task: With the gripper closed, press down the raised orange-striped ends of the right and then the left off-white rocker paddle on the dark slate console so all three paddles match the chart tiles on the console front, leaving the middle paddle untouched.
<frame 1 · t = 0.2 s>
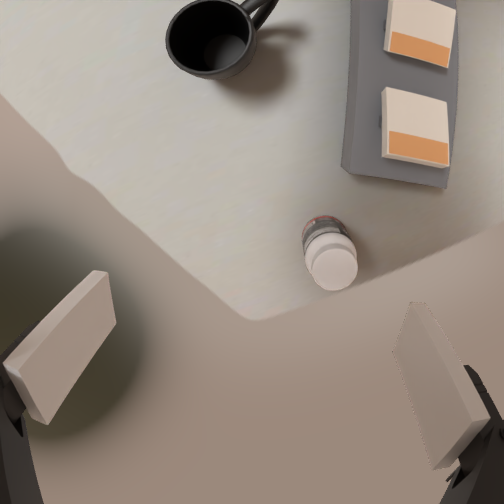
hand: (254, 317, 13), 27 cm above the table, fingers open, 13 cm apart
pill bottle: (323, 235, 40), on the table
switch 3: (414, 128, 27), point 7 cm above the table, hinge at -18.0°
switch 2: (419, 28, 23), point 7 cm above the table, hinge at 18.0°
console: (397, 41, 29), on the table
mug: (238, 44, 32), on the table
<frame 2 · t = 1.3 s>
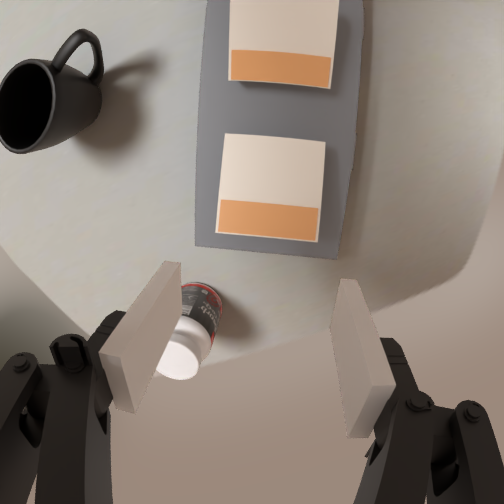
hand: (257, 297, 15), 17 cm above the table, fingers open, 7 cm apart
pill bottle: (198, 302, 36), on the table
switch 3: (271, 187, 23), point 7 cm above the table, hinge at -18.0°
switch 2: (282, 35, 18), point 7 cm above the table, hinge at 18.0°
console: (282, 55, 25), on the table
mug: (93, 90, 27), on the table
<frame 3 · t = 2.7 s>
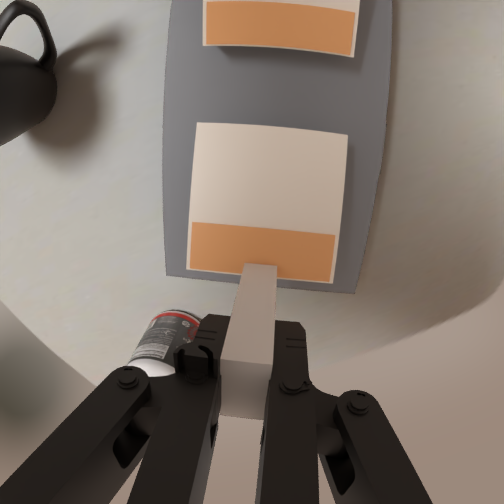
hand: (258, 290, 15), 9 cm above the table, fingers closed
pill bottle: (180, 331, 29), on the table
switch 3: (266, 201, 16), point 7 cm above the table, hinge at -14.6°, touching gripper
console: (282, 20, 17), on the table
mug: (47, 77, 20), on the table
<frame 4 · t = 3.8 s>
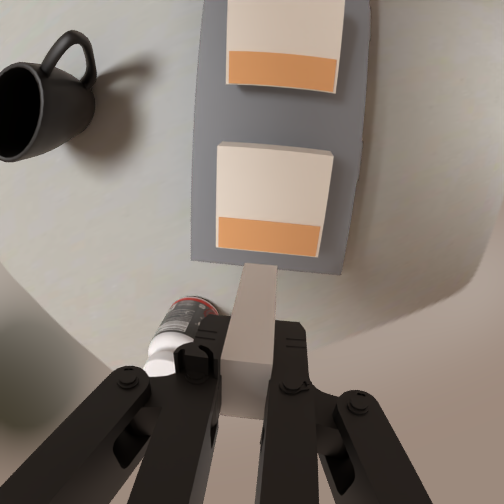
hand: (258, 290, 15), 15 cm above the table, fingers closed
pill bottle: (195, 316, 34), on the table
switch 3: (271, 197, 21), point 7 cm above the table, hinge at 7.3°
switch 2: (284, 35, 17), point 7 cm above the table, hinge at 18.0°
console: (283, 58, 23), on the table
mug: (86, 95, 26), on the table
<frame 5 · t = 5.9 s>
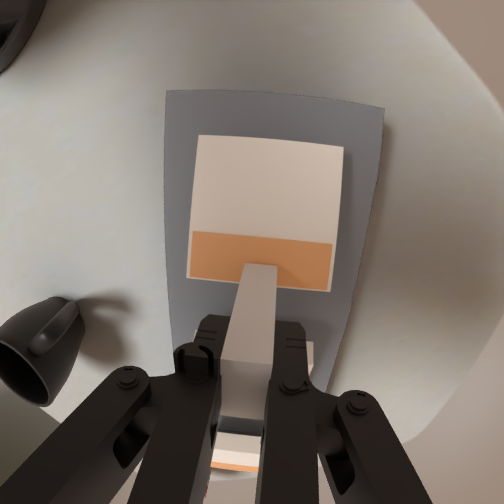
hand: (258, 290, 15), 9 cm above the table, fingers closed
switch 1: (265, 212, 16), point 7 cm above the table, hinge at -17.9°, touching gripper
switch 3: (243, 451, 25), point 7 cm above the table, hinge at 14.1°
switch 2: (251, 370, 21), point 7 cm above the table, hinge at 18.0°
console: (258, 313, 27), on the table
mug: (72, 310, 29), on the table
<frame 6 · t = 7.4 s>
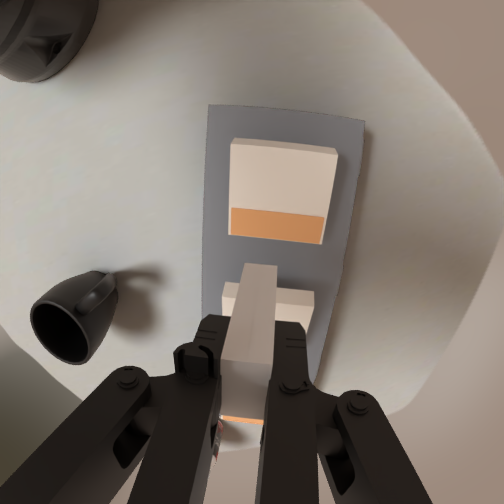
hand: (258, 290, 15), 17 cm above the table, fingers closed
pill bottle: (205, 421, 44), on the table
switch 1: (280, 190, 23), point 7 cm above the table, hinge at 12.5°
switch 3: (255, 401, 31), point 7 cm above the table, hinge at 14.8°
switch 2: (265, 318, 27), point 7 cm above the table, hinge at 18.0°
console: (269, 281, 34), on the table
mug: (108, 282, 36), on the table
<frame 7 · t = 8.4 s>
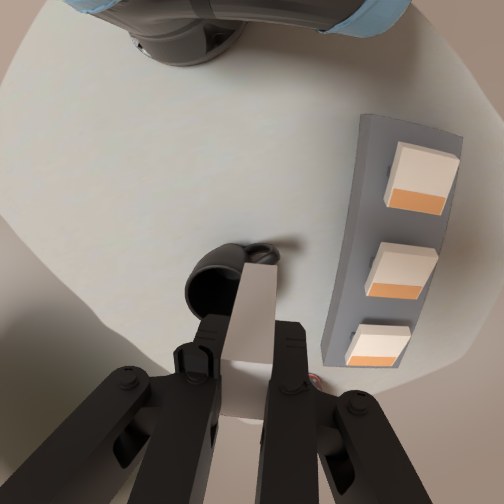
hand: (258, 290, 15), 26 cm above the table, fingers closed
switch 1: (420, 178, 31), point 7 cm above the table, hinge at 16.5°
switch 3: (376, 344, 39), point 7 cm above the table, hinge at 14.9°
switch 2: (400, 270, 35), point 7 cm above the table, hinge at 18.0°
console: (383, 248, 41), on the table
mug: (243, 254, 44), on the table
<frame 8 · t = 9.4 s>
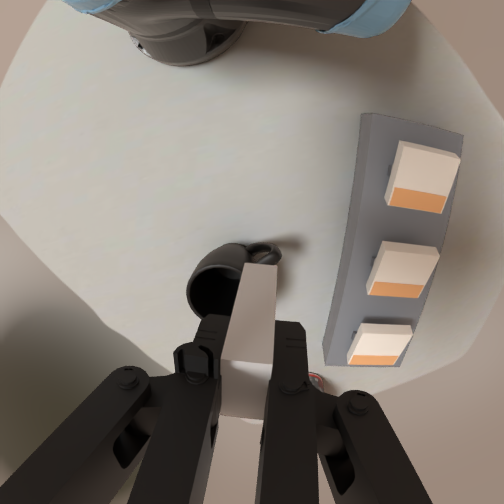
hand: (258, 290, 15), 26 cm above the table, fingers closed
pill bottle: (306, 381, 52), on the table
switch 1: (421, 177, 31), point 7 cm above the table, hinge at 17.9°
switch 3: (378, 343, 39), point 7 cm above the table, hinge at 15.0°
switch 2: (401, 269, 35), point 7 cm above the table, hinge at 18.0°
console: (385, 247, 41), on the table
mug: (244, 253, 44), on the table
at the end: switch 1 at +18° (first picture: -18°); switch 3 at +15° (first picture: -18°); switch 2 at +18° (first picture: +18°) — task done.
